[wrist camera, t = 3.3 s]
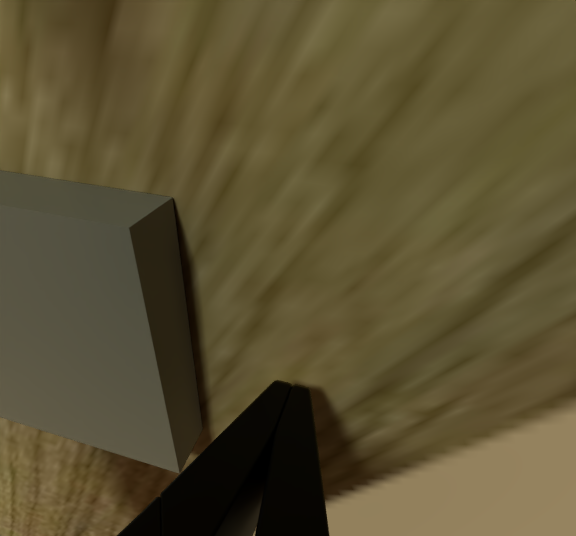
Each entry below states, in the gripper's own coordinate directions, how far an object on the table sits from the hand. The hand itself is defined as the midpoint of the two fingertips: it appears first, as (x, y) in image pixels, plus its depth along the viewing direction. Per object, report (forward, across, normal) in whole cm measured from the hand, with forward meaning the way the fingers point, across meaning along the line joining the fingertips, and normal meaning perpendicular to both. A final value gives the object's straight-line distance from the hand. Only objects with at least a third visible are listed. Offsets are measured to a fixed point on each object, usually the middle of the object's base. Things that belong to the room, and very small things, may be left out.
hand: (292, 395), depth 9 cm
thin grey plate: (+1, +8, 0) cm, 9 cm away
